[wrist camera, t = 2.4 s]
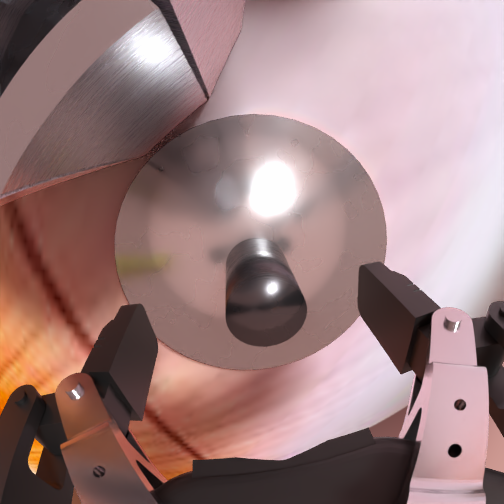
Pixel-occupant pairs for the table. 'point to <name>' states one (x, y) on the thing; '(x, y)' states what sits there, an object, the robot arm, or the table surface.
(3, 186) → the pot
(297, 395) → the table surface
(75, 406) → the robot arm
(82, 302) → the table surface
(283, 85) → the table surface
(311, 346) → the lid
